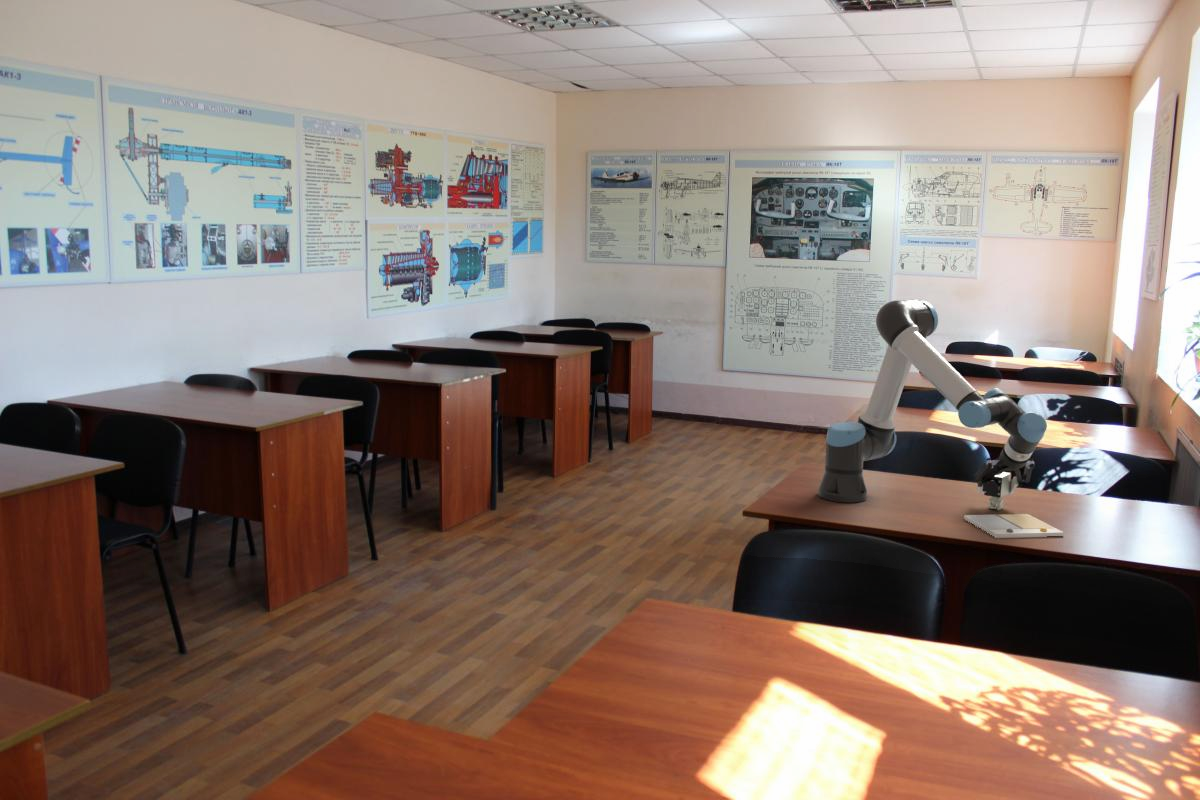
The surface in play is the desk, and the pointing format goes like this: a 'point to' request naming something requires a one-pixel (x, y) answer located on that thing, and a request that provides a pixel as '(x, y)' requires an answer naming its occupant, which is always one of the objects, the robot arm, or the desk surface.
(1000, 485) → the pneumatic valve
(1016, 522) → the board
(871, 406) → the robot arm
